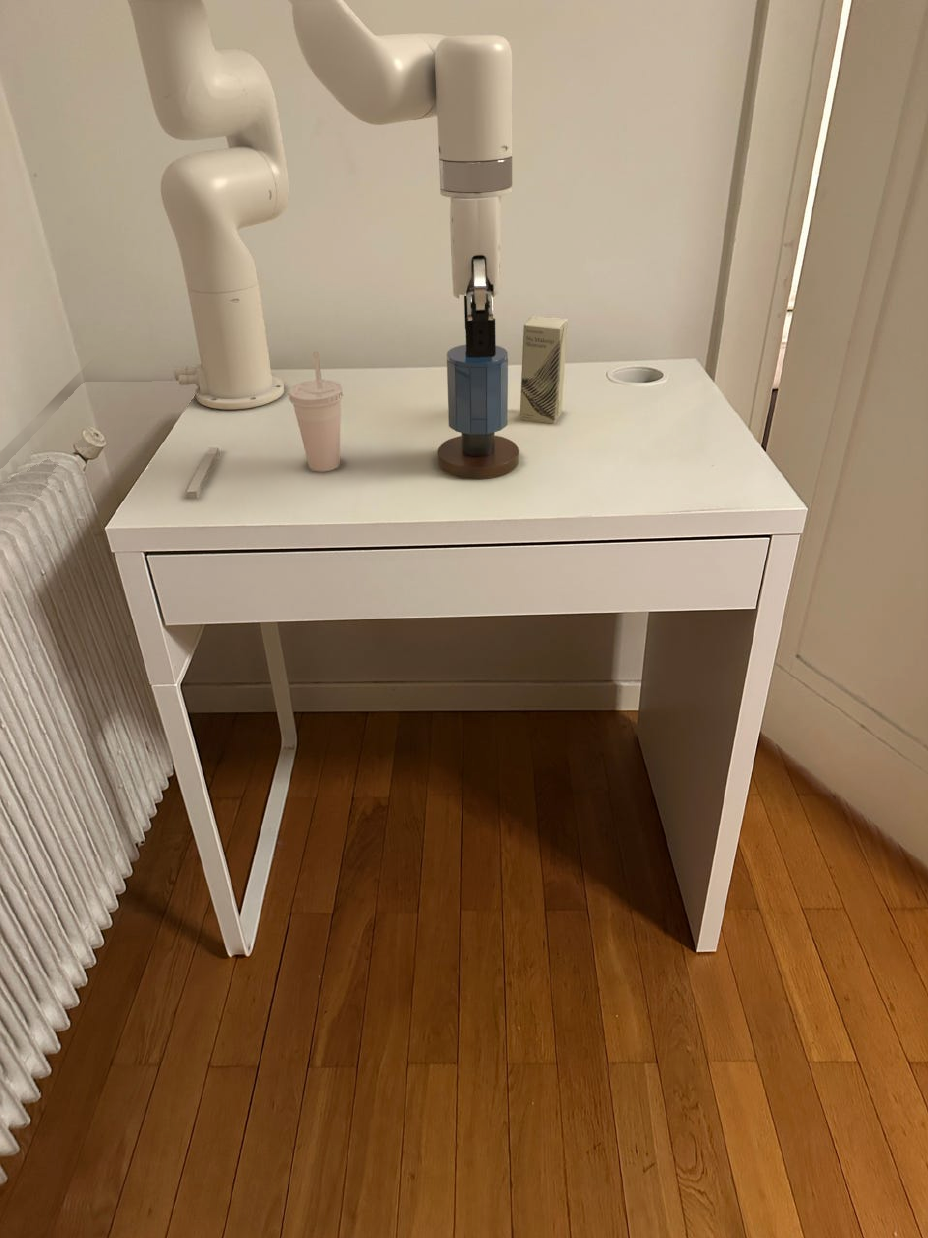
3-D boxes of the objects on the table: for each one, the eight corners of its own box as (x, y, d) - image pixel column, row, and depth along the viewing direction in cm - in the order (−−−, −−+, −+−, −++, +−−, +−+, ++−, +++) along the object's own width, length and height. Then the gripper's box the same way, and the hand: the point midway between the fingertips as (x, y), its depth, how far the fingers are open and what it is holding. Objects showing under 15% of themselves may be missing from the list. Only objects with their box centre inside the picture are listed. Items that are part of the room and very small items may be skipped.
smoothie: (341, 478, 108) (328, 362, 100) (290, 474, 109) (274, 360, 101) (356, 455, 113) (346, 344, 105) (308, 452, 114) (294, 342, 106)
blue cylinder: (448, 435, 105) (446, 363, 101) (448, 412, 111) (446, 344, 106) (508, 433, 105) (509, 362, 101) (505, 411, 111) (506, 342, 106)
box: (518, 420, 122) (520, 324, 114) (527, 408, 125) (529, 314, 118) (556, 424, 120) (560, 327, 113) (564, 412, 124) (568, 317, 116)
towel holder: (437, 480, 107) (433, 373, 100) (438, 445, 115) (434, 344, 108) (521, 478, 107) (523, 370, 100) (516, 444, 115) (517, 342, 108)
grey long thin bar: (197, 499, 104) (196, 491, 104) (188, 499, 104) (186, 491, 104) (219, 454, 115) (218, 447, 114) (210, 454, 115) (209, 447, 114)
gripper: (440, 166, 100) (446, 322, 110) (438, 192, 86) (446, 369, 95) (507, 164, 100) (508, 320, 110) (517, 189, 86) (517, 366, 95)
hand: (479, 342), depth 103 cm, fingers open, 9 cm apart
